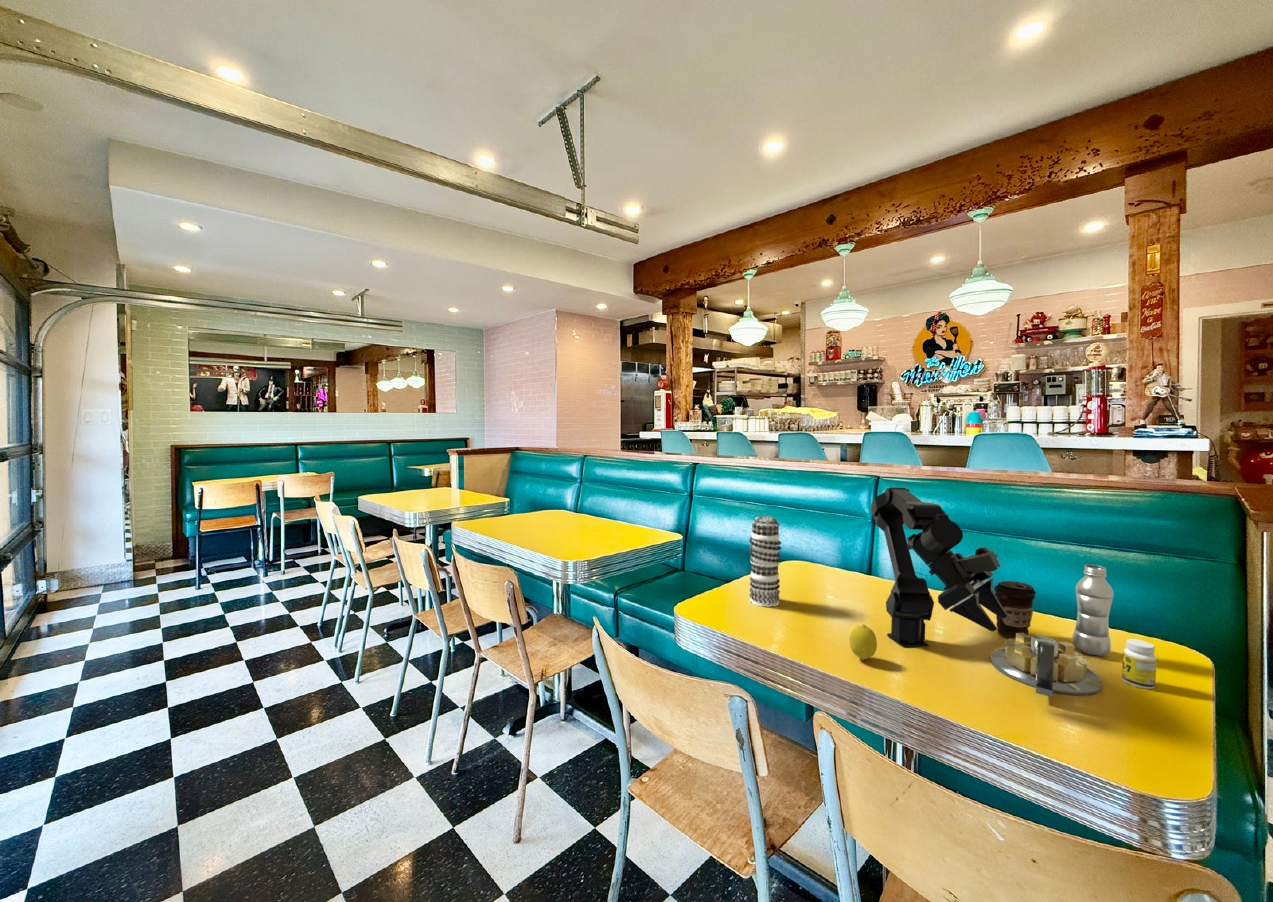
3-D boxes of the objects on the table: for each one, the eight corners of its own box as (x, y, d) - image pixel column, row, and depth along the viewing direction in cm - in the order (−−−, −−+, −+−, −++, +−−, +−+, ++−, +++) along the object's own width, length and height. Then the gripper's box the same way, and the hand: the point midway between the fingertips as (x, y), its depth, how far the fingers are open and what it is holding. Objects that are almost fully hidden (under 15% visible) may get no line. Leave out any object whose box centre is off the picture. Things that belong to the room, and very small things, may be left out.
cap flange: (1043, 697, 94) (1045, 662, 94) (970, 654, 112) (972, 624, 112) (1127, 692, 96) (1129, 657, 96) (1043, 650, 114) (1044, 621, 114)
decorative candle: (744, 603, 144) (745, 518, 143) (754, 594, 152) (755, 514, 151) (775, 609, 139) (776, 522, 138) (784, 599, 147) (785, 517, 146)
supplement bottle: (1118, 675, 103) (1120, 635, 102) (1149, 681, 101) (1152, 640, 100) (1126, 685, 99) (1128, 644, 98) (1159, 692, 96) (1161, 650, 96)
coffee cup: (1043, 645, 117) (1045, 591, 116) (1003, 642, 118) (1005, 589, 118) (1022, 630, 125) (1024, 580, 125) (985, 627, 127) (987, 578, 126)
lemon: (874, 668, 106) (875, 631, 105) (847, 661, 109) (848, 626, 108) (877, 657, 111) (878, 623, 110) (851, 651, 113) (852, 617, 113)
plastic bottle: (1100, 648, 115) (1104, 564, 114) (1117, 661, 109) (1122, 572, 108) (1066, 644, 117) (1070, 561, 116) (1081, 657, 111) (1085, 569, 110)
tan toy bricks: (1006, 645, 113) (1008, 605, 113) (1082, 663, 105) (1085, 619, 104) (1000, 684, 96) (1002, 637, 96) (1091, 709, 88) (1093, 657, 87)
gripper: (958, 543, 94) (1029, 616, 87) (982, 529, 107) (1046, 591, 100) (912, 574, 100) (974, 645, 93) (940, 557, 113) (997, 618, 106)
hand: (1000, 623), depth 98 cm, fingers open, 9 cm apart
